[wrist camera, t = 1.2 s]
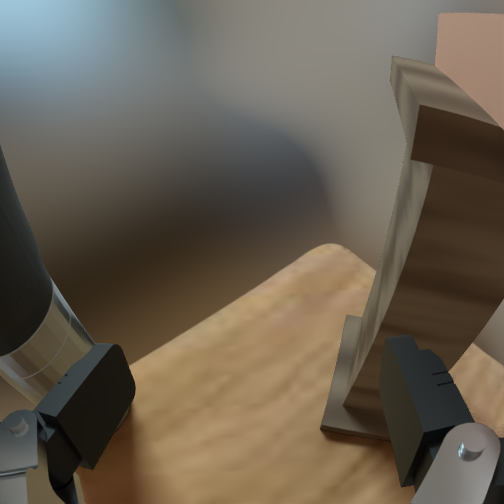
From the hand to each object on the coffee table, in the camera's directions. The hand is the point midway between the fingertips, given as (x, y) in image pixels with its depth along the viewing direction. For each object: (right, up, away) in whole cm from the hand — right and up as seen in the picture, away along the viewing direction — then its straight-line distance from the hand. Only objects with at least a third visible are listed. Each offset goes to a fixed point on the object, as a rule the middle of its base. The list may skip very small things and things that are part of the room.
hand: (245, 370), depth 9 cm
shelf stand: (+14, -11, +23) cm, 29 cm away
